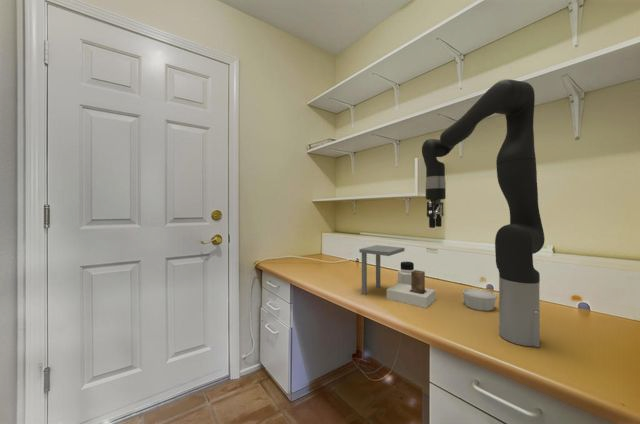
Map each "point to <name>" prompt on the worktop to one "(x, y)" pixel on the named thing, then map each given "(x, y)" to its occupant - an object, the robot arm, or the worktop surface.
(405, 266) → the medicine bottle
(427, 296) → the socket block
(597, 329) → the worktop surface
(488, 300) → the ramekin
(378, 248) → the grey miniature table
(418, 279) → the peg
